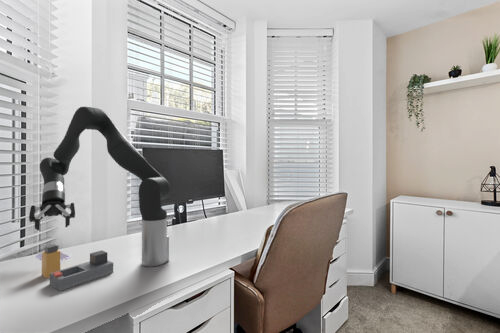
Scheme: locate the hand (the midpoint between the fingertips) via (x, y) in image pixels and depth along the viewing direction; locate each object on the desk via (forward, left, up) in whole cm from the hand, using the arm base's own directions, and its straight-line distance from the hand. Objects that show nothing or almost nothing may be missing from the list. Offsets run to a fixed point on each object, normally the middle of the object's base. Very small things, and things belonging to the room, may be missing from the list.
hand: (52, 227), depth 96 cm
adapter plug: (+4, +10, -14) cm, 18 cm away
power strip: (-1, +22, -14) cm, 26 cm away
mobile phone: (-3, -10, -15) cm, 18 cm away
